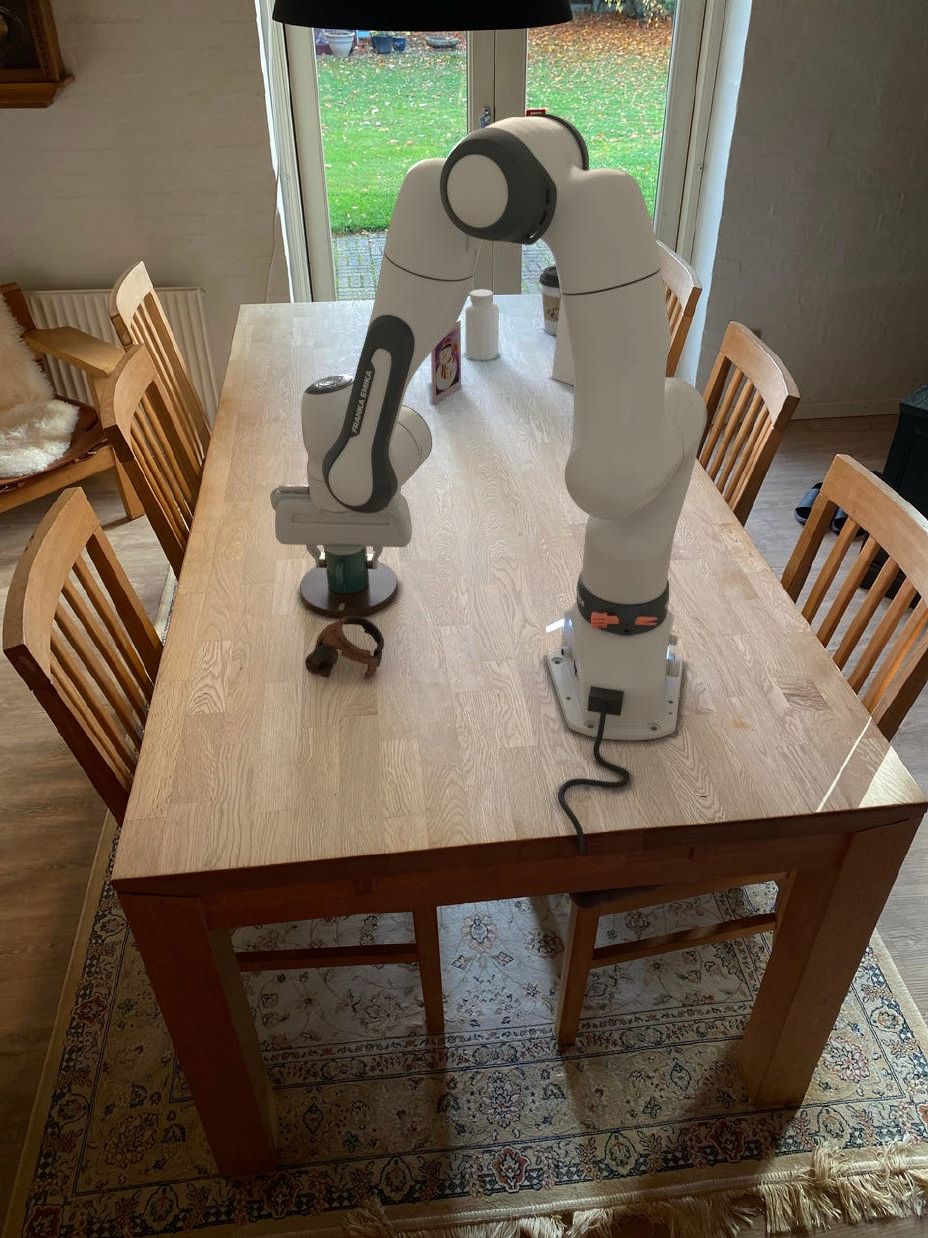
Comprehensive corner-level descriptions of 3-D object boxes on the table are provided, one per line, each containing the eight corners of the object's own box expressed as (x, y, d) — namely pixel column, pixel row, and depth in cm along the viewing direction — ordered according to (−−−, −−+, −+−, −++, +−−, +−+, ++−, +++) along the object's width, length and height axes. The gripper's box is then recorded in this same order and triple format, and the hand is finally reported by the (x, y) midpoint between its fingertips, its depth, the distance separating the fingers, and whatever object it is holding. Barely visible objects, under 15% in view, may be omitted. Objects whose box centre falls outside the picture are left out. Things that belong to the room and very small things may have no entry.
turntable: (391, 621, 139) (390, 612, 139) (291, 617, 140) (290, 609, 139) (402, 565, 152) (402, 557, 151) (311, 563, 152) (310, 555, 151)
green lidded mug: (320, 602, 141) (315, 560, 136) (331, 569, 148) (327, 528, 143) (363, 604, 140) (359, 561, 136) (372, 571, 147) (369, 529, 143)
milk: (551, 378, 214) (558, 261, 199) (581, 364, 221) (590, 249, 206) (594, 391, 208) (604, 271, 192) (624, 376, 214) (635, 259, 199)
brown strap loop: (333, 639, 137) (358, 601, 132) (376, 684, 135) (403, 647, 130) (277, 665, 127) (302, 625, 122) (324, 715, 125) (351, 676, 121)
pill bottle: (461, 359, 224) (460, 296, 215) (470, 347, 230) (470, 285, 221) (493, 362, 222) (493, 299, 213) (501, 350, 228) (503, 288, 219)
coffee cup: (533, 336, 236) (535, 275, 227) (540, 321, 245) (543, 262, 236) (578, 339, 234) (582, 278, 225) (583, 324, 243) (588, 265, 234)
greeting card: (436, 404, 203) (435, 336, 194) (408, 397, 206) (405, 330, 197) (464, 386, 210) (463, 320, 202) (436, 380, 214) (435, 314, 205)
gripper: (263, 495, 133) (275, 576, 141) (406, 498, 132) (410, 579, 140) (273, 474, 138) (284, 553, 146) (411, 477, 137) (414, 557, 145)
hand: (347, 566), depth 143 cm, fingers closed on green lidded mug, 6 cm apart
